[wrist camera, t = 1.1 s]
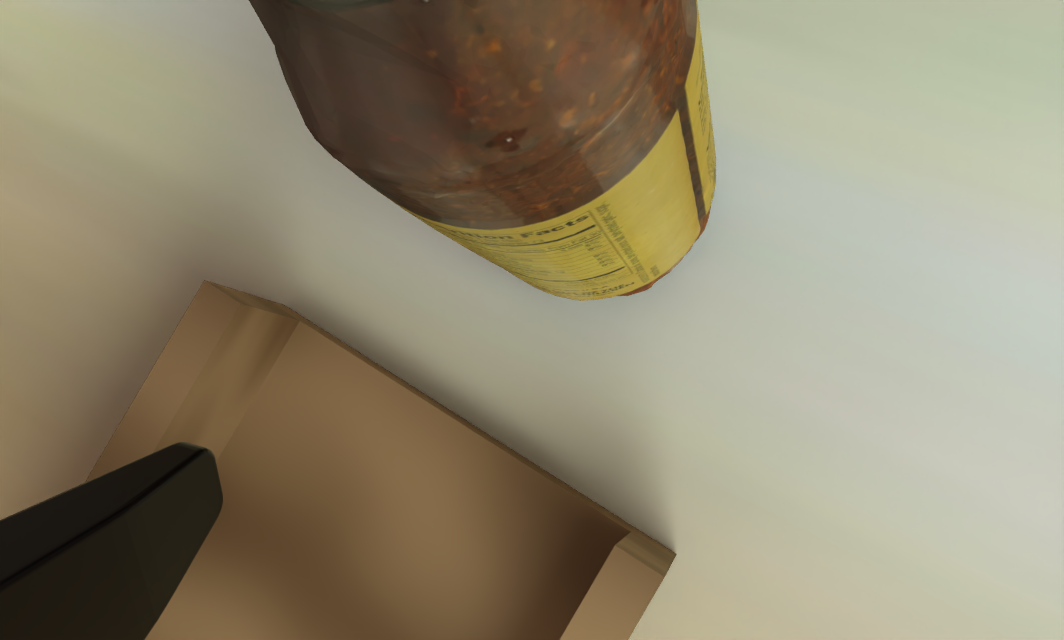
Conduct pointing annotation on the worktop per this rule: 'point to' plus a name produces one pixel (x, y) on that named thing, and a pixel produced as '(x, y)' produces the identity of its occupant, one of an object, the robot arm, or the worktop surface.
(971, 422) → the worktop surface
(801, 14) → the worktop surface
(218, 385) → the box
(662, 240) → the sauce bottle
